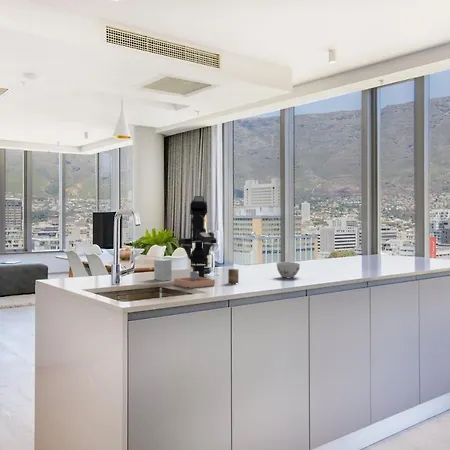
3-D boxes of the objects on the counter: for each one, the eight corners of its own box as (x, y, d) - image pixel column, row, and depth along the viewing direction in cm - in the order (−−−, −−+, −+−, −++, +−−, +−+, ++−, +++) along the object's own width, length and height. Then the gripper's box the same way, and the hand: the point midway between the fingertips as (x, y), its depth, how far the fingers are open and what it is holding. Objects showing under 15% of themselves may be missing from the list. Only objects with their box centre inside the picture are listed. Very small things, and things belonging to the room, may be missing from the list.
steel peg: (188, 284, 249) (188, 271, 249) (195, 283, 251) (195, 271, 251) (193, 285, 246) (193, 272, 246) (200, 284, 248) (200, 272, 248)
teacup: (287, 279, 273) (287, 264, 272) (271, 277, 283) (271, 262, 282) (307, 277, 281) (307, 263, 281) (291, 275, 292) (291, 261, 291)
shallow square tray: (174, 284, 250) (174, 278, 250) (198, 282, 258) (198, 276, 258) (190, 288, 239) (190, 282, 239) (214, 286, 247) (214, 279, 247)
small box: (171, 280, 267) (171, 259, 266) (162, 281, 263) (162, 260, 263) (162, 278, 273) (163, 258, 272) (153, 279, 269) (154, 259, 269)
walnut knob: (226, 283, 257) (226, 269, 257) (234, 282, 260) (234, 268, 260) (232, 284, 253) (232, 270, 253) (240, 283, 256) (240, 269, 256)
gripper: (191, 227, 238) (190, 261, 239) (223, 226, 249) (223, 259, 250) (178, 226, 247) (178, 259, 247) (210, 225, 258) (209, 257, 259)
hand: (197, 258), depth 251 cm, fingers open, 9 cm apart
